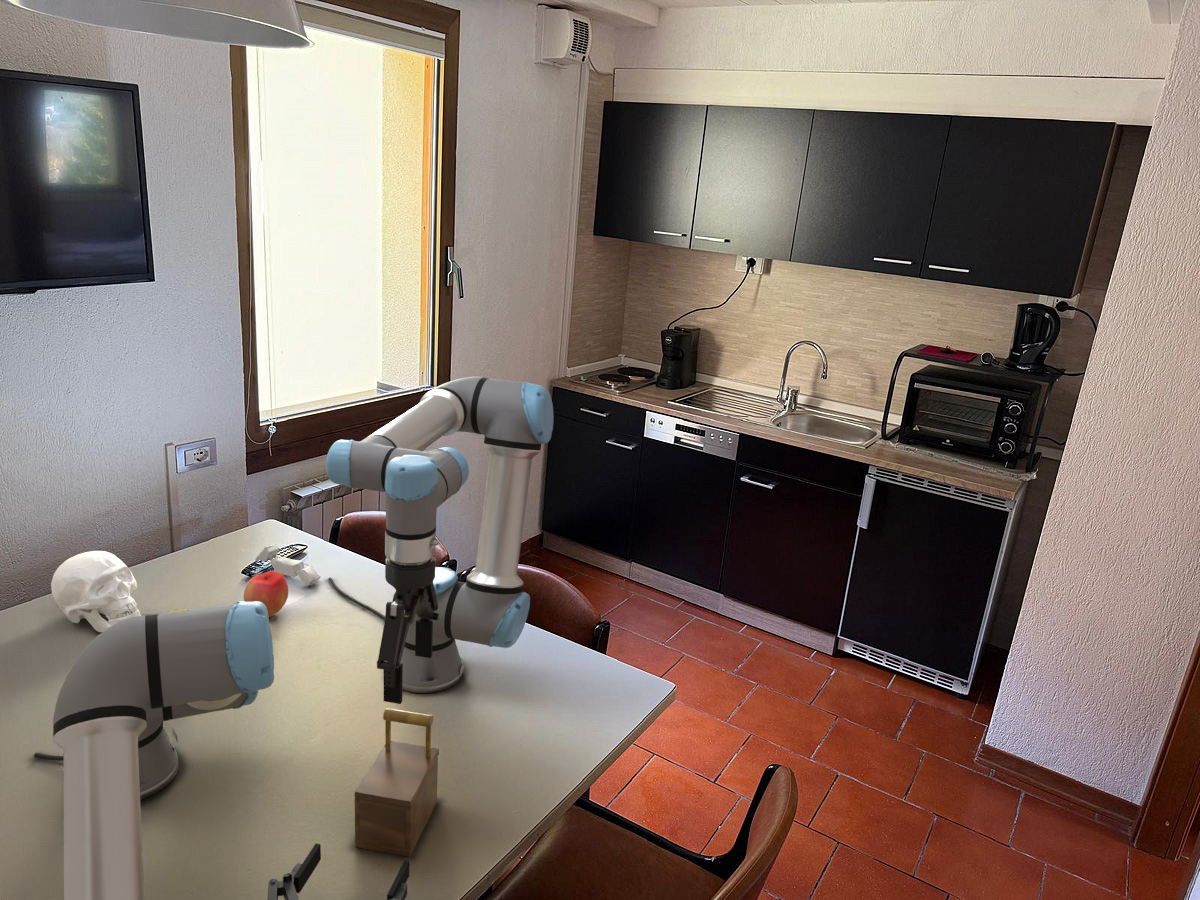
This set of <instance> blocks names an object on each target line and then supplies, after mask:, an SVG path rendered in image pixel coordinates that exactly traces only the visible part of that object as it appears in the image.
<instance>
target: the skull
mask: <svg viewBox="0 0 1200 900" xmlns="http://www.w3.org/2000/svg"><path fill="white" fill-rule="evenodd" d="M51 578H52V579H51V584H50V589H51V595H52V597H53V601H54V602H55V603H56V605H57V606H58V608H59V609H60V610H61V612H63V614H64V615H65V617H66V618H67V619H68V620H69V621H70V622H71V623H75V624H78V623H80V622H81V620H82V619H85V620H87V622H88V623H89V624H90V625H91V626H92V628H93V629H94V630H95V631H96V632H98V633H102V632H104V631H105V630H106V629H108V628H109V627H111V626H113V625H114V624H116V623H118V622H120V621H123V620H126V619H128V618H131V617H136V616H142V614H141V612H140V609H138V607H137V606H138V603H137V602H136V600H135V599H134V598H133V597H132V594H133V593H134V592H136V591H137V590H138V583H137V580H136V578H135V577H134V574H133V572H132V571H131V569H130V568H129V567H128V566H127V565H126V563H124V562H123V561H122V560H121V559H120V558H119V557H117V556H116V555H115V554H114V553H112V552H109V551H105V550H90V551H84V552H81V553H78V554H76V555H74V556H71V557H69V558H68V559H66V560H64V561H63V562H62V563H61V564H60V565H59V566H58V567H57V569H56V570H55V572H54V573H53V574H52V577H51ZM101 614H102V615H104V616H105V617H106V618H107V619H108V620H106V619H104V618H103V617H102V616H101Z"/></svg>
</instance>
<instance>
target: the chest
mask: <svg viewBox="0 0 1200 900" xmlns="http://www.w3.org/2000/svg"><path fill="white" fill-rule="evenodd" d="M438 764H439V756H438V757H437V759H436V761H435V762H434V764H433V766H432V768H431V770H430V772H429V774H428V776H427V778H426V779H425V781H424V783H423V785H422V787H421V789H420V791H419V793H418V794H417V796H416V798H415V800H414V802H413V804H412V806H411V807H405V806H400V805H394V804H388V803H383V802H377V801H371V800H365V799H360V798H355V797H354V847H355V848H359V849H365V850H369V851H375V852H381V853H386V854H390V855H391V854H392V855H397V856H403V857H408V858H410V857H411V856H412V854H413V852H414V849H415V847H416V846H417V843H418V841H419V840H420V838H421V835H422V833H423V831H424V829H425V827H426V825H427V823H428V821H429V820H430V817H431V815H432V813H433V811H434V809H435V807H436V805H437V802H438V773H439V770H438V768H439V765H438Z"/></svg>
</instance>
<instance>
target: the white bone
mask: <svg viewBox="0 0 1200 900" xmlns="http://www.w3.org/2000/svg"><path fill="white" fill-rule="evenodd" d="M280 549H281V547H279V546H278V545H277V544H272V545H266V546H264V547H263V549H262V550H261V551H260V552H259V554H258V555H257V556H256V557H255V559H254V562H255V563H256V561H259V560H262V561H268V560H271V562H270V563H269V564H271V565H272V566H273V568H274V571H275V572H278V573H281V574H282V575H283V576H288V577H292V578H296V577H298V578H299V579H300V580H301V582H303V584H304V585H305V587H309V586H312V585H314V584H316V583H318V582H319V580H320V579H321V578H322V577H321V575H320V574H319V573H318V572H317V570H315V569H314V568H313V566H312V565H310V564H309V565H308V564H307V563H305V562H304V561H303V560H301V559H300V560H299V559H292V558H289V557H285V556H278V553H279V551H280ZM273 558H274V559H273ZM272 559H273V560H272ZM305 566H306V567H305ZM270 571H271V570H270Z"/></svg>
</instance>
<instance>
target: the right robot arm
mask: <svg viewBox="0 0 1200 900" xmlns="http://www.w3.org/2000/svg"><path fill="white" fill-rule="evenodd" d="M553 431H554V405H553V401H552V397H551V394H550V391H549V390H548V389H547V388H546V387H545V386H543V385H540V384H535V383H530V382H528V381H518V380H517V381H516V380H507V379H499V378H490V377H485V376H467V377H462V378H457V379H453V380H451V381H447V382H445V383H442V384H440V385H438V386H436V387H434V388H432V389H431V390H429V391H427V392H425V394H424V395H422V397H421V398H420V400H419V402H418V404H416V405H415V406H413V407H412V408H410V409H408V410H407V411H406V412H404V413H402V414H401V415H399V416H397V417H396V418H395V419H393V420H392V421H390V422H389V423H387V424H385V425H384V426H382V427H380V428H379V429H377V430H376V431H374V432H372V434H369V435H368V436H367V437H365V438H364V439H362V440H360V441H357V440H354V439H339V440H336V441H335V442H333V444H332V445H331V446H330V448H329V450H328V451H327V454H326V461H325V467H326V469H325V470H326V475H327V477H328V479H329V480H330V481H331V483H333V484H335V485H341V486H344V487H347V488H349V489H361V490H368V491H374V492H381V493H385V530H384V555H385V559H384V560H385V561H384V567H385V568H384V569H385V570H384V578H385V581H386V582H387V584H388V585H390V586H392V587H393V589H394V590H395V592H394V594H393V597H392V601H387V602H386V604H385V615H384V614H382V613H380V612H379V611H377V610H376V609H374V608H373V607H370V606H368V605H366V604H364V603H363V602H360V601H358V600H357V599H355V598H353V597H352V596H350V595H349V594H347V593H345V592H343V590H341V589H340V588H339V587H338V586H337V585H336V583H335V582H334V580H333V578H332V577H328V581H329V583H330V584H331V586H332V587H333V589H334V590H335V591H336V592H337V593H338V594H340V595H341V596H342V597H344V598H346V599H347V600H349V601H350V602H352V603H354V604H356V605H357V606H359V607H361V608H363V609H365V610H367V611H369V612H371V613H373V614H374V615H376V616H377V617H379V618H381V619H382V620H384V623H383V627H382V635H381V641H380V646H379V651H378V658H377V660H376V668H377V669H378V670H383V702H385V703H390V704H391V703H392V704H397V705H401V704H402V702H403V690H404V691H407V692H410V693H416V694H430V693H431V694H432V693H438V692H441V691H445V690H447V689H450V688H451V687H453V686H455V685H456V684H457V683H458V682H459V681H460V680H461V679H462V676H463V672H464V666H465V665H464V664H465V663H464V662H463V660H462V657H461V656H460V653H459V649H458V646H457V642H456V640H457V641H458V640H459V641H463V642H468V643H473V644H478V645H484V646H488V647H490V648H492V647H494V648H502V649H508V648H511V647H513V646H514V645H515V644H516V643H517V641H518V640H519V638H520V636H521V635H522V632H523V630H524V628H525V625H526V623H527V619H528V615H529V611H530V607H531V596H530V594H529V593H527V592H526V591H523V589H524V581H523V579H522V578H521V577H520V576H519V574H518V570H519V563H520V562H519V561H520V556H521V555H520V554H521V547H522V538H523V530H524V524H525V515H526V507H527V500H528V493H529V485H530V478H531V469H532V461H533V459H534V457H536V456H537V455H538V454H539V453H541V450H542V445H545V444H548V443H549V442H550V440H551V439H552V433H553ZM458 432H460V433H471V434H477V435H482V436H483V435H484V438H483V446H484V447H485V448H486V450H487V451H488V453H489V459H488V467H487V475H486V483H485V491H484V498H483V507H482V514H481V521H480V522H481V523H480V531H479V538H478V547H477V554H476V562H475V568H474V570H473V571H472V572H470V573H469V574H468V575H467V576H466V579H465V580H466V581H465V582H464V581H458V578H459V577H458V575H457V572H456V571H455V570H453V569H451V568H450V567H444V566H443V567H442V566H436V557H435V555H436V547H437V546H438V545H439V543H440V541H439V539H437V538H436V535H437V534H436V533H437V511H438V508H439V507H440V506H441V505H442V504H443V503H445V502H446V501H447V500H449V499H450V498H451V497H453V496H454V495H455V494H457V493H458V492H459V491H460V490H461V488H462V487H463V485H465V484H466V482H467V480H468V479H469V474H470V468H469V463H468V461H467V459H466V457H465V456H464V455H463V454H462V453H461V452H460V451H459V450H457V449H455V448H453V447H448V446H442V447H439V448H435V449H433V450H431V451H425V450H426V449H428V448H429V447H430V446H431V445H432V444H434V443H435V442H437V441H438V440H439V439H440V438H441V437H448V436H451V435H453V434H456V433H458Z"/></svg>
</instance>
